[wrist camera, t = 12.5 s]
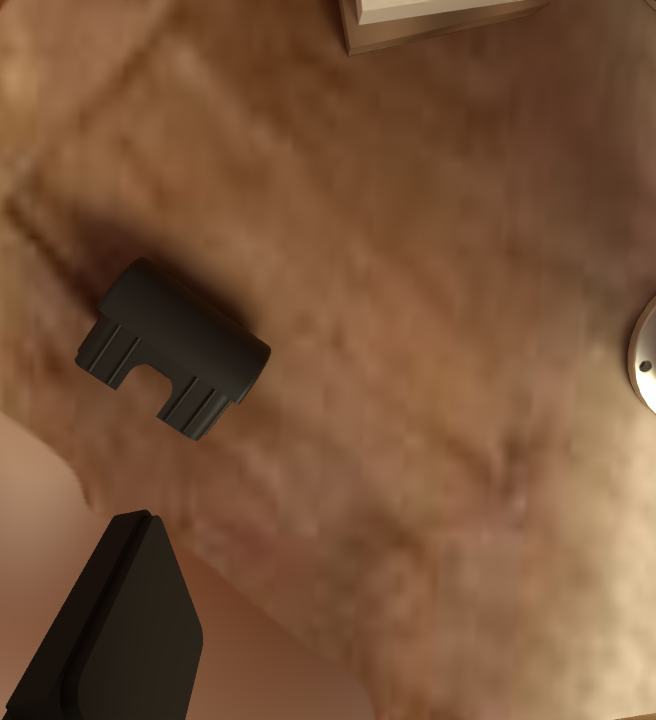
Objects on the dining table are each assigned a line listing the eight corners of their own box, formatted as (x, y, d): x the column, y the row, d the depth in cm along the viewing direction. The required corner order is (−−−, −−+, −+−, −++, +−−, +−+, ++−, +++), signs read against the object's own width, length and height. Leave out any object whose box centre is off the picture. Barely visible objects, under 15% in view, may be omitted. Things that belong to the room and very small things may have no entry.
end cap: (276, 334, 41) (268, 368, 35) (219, 407, 43) (201, 452, 37) (155, 246, 39) (122, 265, 33) (100, 327, 41) (59, 360, 35)
